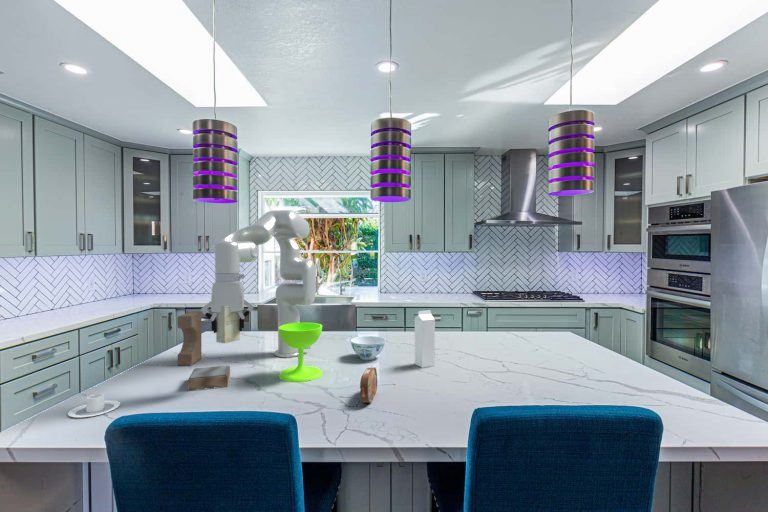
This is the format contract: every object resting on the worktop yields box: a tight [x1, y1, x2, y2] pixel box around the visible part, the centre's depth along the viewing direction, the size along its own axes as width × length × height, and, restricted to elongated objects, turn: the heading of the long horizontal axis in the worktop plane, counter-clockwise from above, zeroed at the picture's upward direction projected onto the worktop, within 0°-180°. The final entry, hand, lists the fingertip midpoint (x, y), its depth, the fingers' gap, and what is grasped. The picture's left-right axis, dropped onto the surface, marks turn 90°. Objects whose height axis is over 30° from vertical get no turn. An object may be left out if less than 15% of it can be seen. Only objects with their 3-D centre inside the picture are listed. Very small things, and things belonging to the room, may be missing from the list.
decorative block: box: [177, 311, 202, 367], centre depth 157 cm, size 11×6×20 cm, turn 5°
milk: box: [414, 309, 436, 368], centre depth 153 cm, size 6×6×22 cm
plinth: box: [187, 365, 231, 391], centre depth 132 cm, size 12×12×4 cm
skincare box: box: [215, 306, 241, 344], centre depth 126 cm, size 6×4×12 cm
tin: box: [359, 366, 378, 404], centre depth 119 cm, size 15×3×8 cm, turn 171°
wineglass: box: [278, 322, 323, 383], centre depth 141 cm, size 16×16×18 cm
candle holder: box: [67, 392, 121, 419], centre depth 110 cm, size 12×12×4 cm
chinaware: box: [350, 335, 386, 361], centre depth 163 cm, size 15×15×8 cm
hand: (228, 331), depth 126 cm, fingers closed on skincare box, 7 cm apart
